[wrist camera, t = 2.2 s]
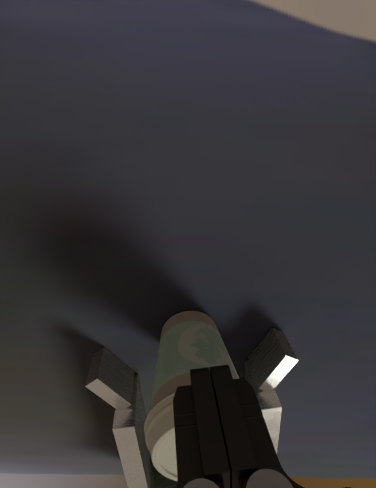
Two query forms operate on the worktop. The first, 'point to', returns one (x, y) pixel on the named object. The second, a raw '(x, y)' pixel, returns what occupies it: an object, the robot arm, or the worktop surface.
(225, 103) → the worktop surface
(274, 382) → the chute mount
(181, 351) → the coffee cup
